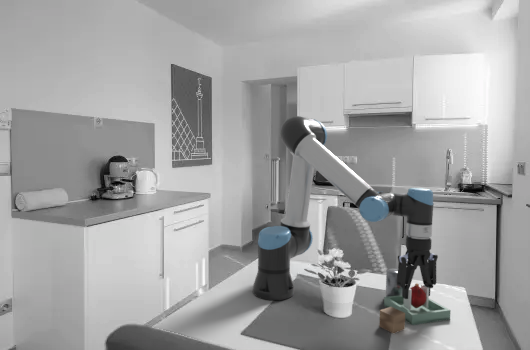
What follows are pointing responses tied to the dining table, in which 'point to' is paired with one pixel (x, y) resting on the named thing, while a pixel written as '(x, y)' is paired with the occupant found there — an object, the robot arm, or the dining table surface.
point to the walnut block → (392, 320)
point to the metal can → (392, 283)
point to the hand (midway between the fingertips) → (415, 306)
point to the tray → (419, 311)
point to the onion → (417, 296)
